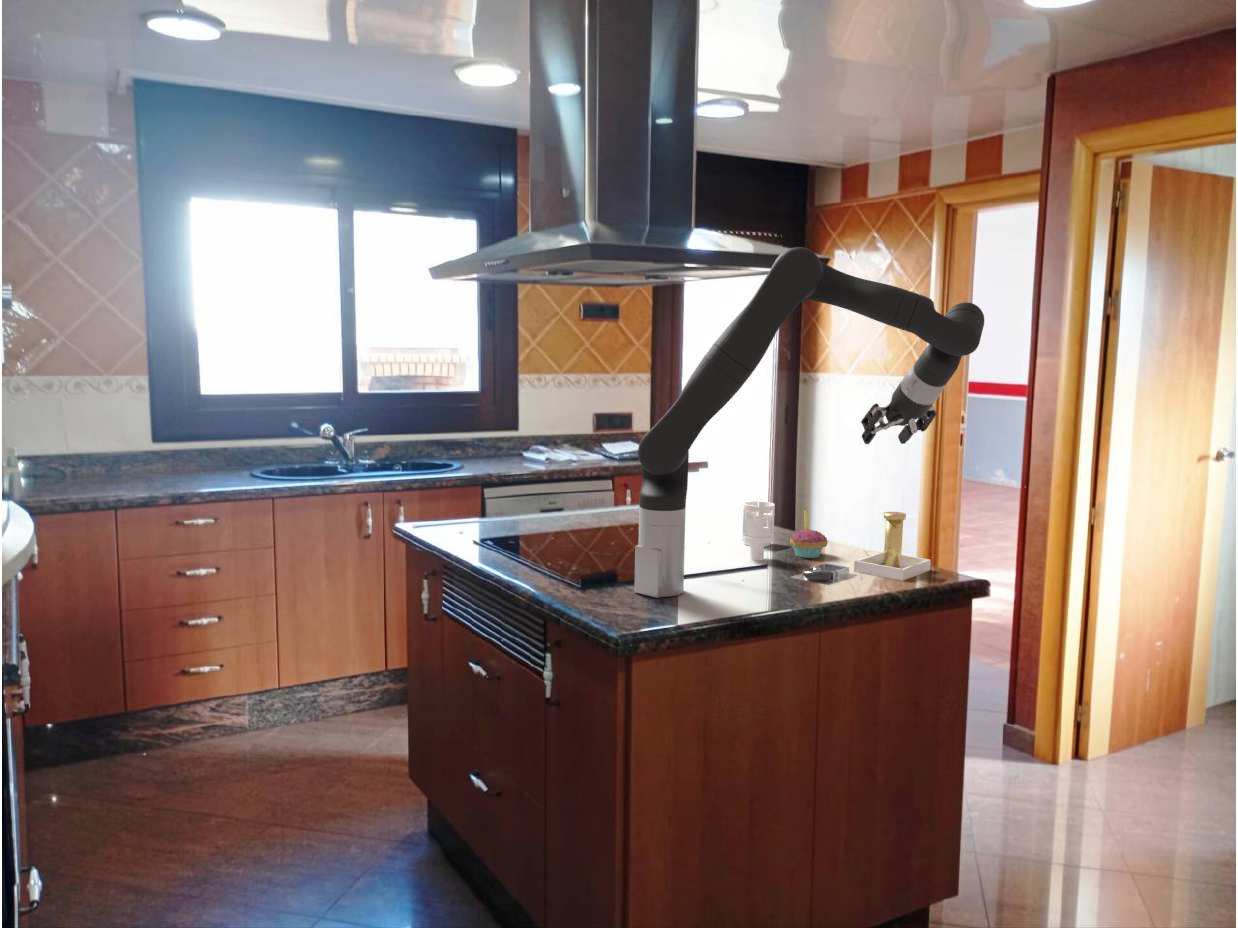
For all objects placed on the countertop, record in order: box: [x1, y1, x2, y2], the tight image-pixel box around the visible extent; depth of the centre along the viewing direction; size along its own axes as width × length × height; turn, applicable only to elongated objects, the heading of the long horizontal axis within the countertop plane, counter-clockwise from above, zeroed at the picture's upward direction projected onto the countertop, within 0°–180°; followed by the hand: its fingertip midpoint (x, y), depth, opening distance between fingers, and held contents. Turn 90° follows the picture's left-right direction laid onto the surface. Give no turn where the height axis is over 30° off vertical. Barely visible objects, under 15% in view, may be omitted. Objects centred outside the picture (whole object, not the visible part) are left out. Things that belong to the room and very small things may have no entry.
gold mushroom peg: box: [882, 511, 907, 569], centre depth 212 cm, size 5×5×13 cm
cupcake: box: [789, 507, 828, 559], centre depth 226 cm, size 9×8×12 cm
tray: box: [853, 551, 932, 582], centre depth 213 cm, size 13×11×4 cm
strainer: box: [741, 499, 776, 562], centre depth 221 cm, size 7×7×15 cm
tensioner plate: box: [790, 562, 857, 586], centre depth 207 cm, size 12×9×3 cm
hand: (883, 440), depth 204 cm, fingers open, 8 cm apart
